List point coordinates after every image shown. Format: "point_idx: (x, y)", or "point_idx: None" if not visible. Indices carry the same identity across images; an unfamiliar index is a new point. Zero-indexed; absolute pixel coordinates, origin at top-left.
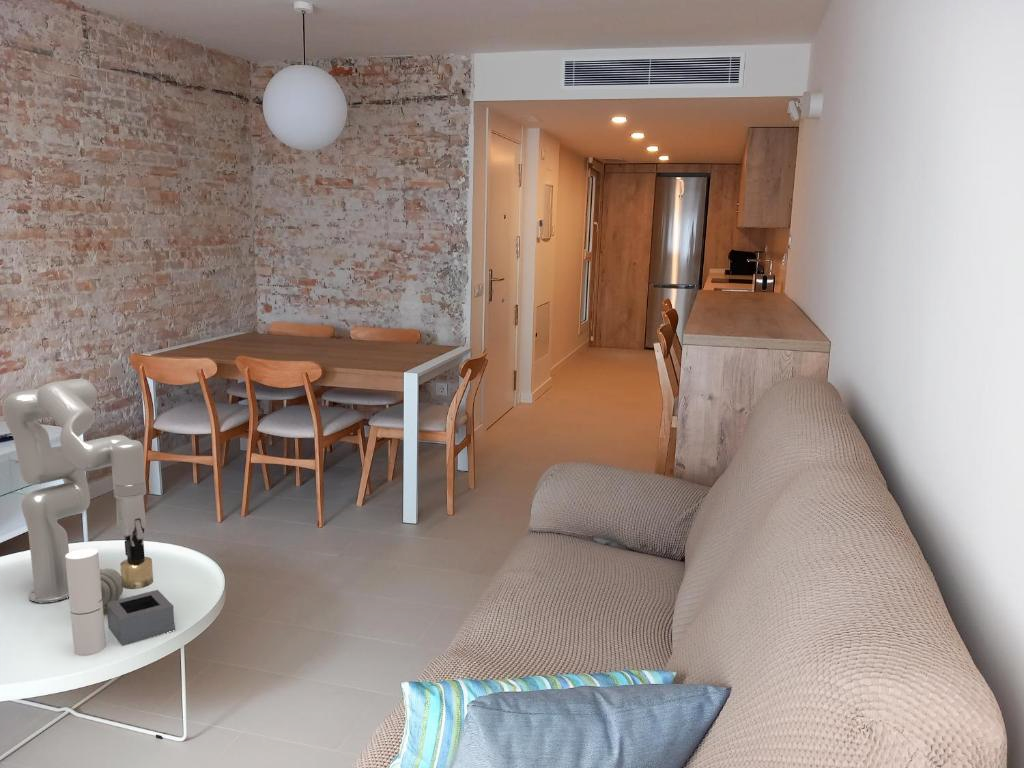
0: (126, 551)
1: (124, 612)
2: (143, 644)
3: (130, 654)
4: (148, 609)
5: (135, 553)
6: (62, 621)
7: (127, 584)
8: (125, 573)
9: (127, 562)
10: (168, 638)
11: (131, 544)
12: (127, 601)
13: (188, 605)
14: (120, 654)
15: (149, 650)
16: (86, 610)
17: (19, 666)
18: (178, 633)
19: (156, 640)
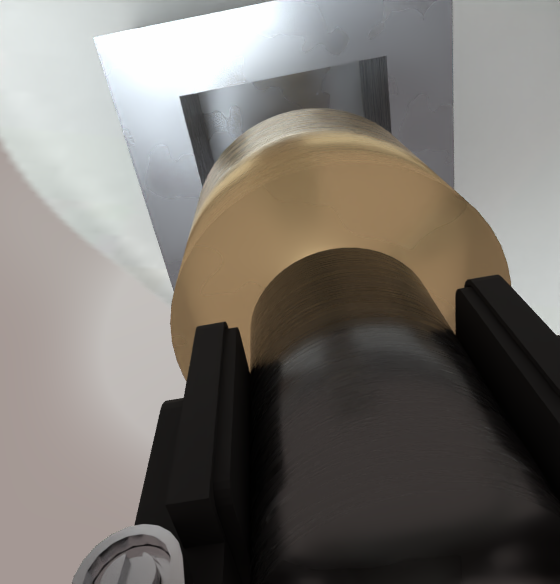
0: (487, 315)
1: (207, 78)
2: (111, 132)
3: (16, 63)
4: (191, 217)
5: (153, 449)
6: None
7: (223, 158)
8: (232, 181)
9: (382, 246)
10: (133, 237)
11: (168, 562)
12: (390, 112)
13: None
14: (31, 13)
15: (34, 152)
16: None
17: None
18: (167, 277)
19: (132, 190)
